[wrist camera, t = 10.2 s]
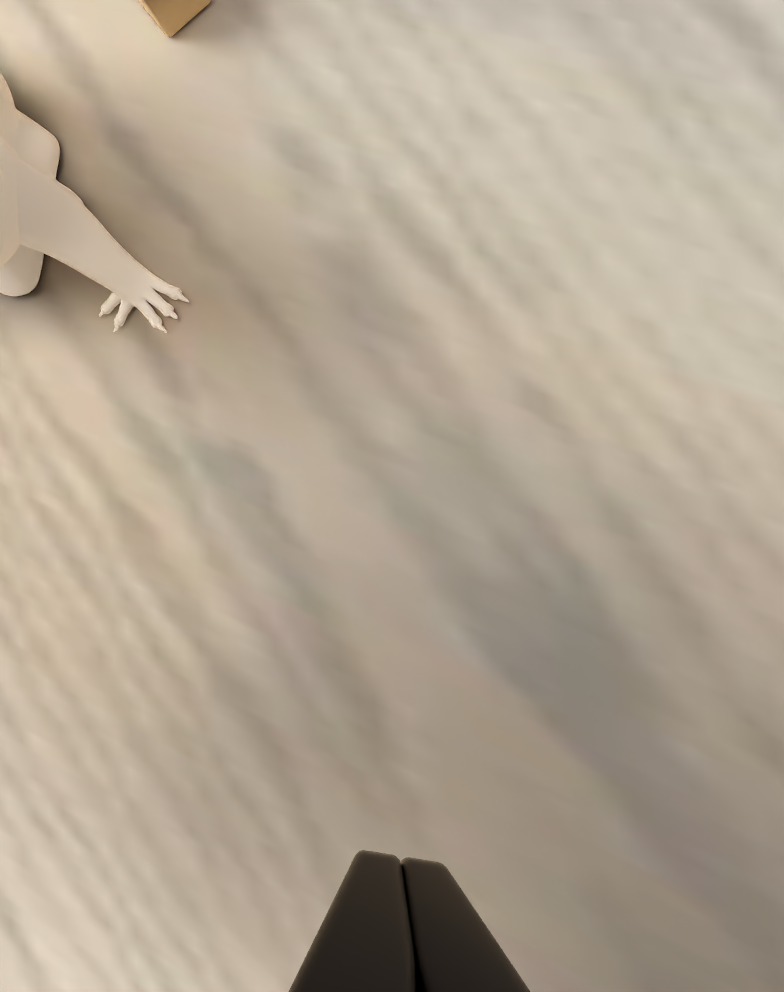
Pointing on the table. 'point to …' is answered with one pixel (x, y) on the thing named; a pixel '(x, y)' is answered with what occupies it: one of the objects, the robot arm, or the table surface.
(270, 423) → the table surface
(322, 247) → the table surface
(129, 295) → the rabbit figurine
